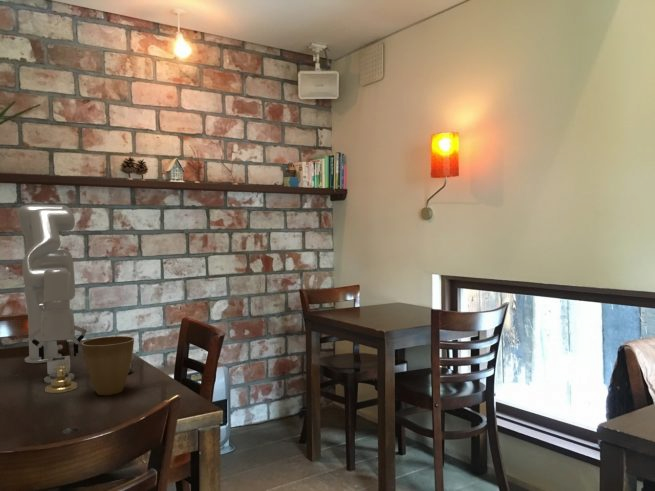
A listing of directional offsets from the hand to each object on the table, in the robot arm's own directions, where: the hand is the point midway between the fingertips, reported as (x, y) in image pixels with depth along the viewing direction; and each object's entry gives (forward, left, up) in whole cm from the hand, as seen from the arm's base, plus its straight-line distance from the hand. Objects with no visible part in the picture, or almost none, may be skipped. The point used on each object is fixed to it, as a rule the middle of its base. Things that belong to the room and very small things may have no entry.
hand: (59, 357), depth 176 cm
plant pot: (+11, +24, -8) cm, 27 cm away
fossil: (-8, +16, -8) cm, 19 cm away
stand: (-1, 0, -8) cm, 8 cm away
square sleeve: (-1, 0, -5) cm, 5 cm away
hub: (+9, +7, -8) cm, 14 cm away
